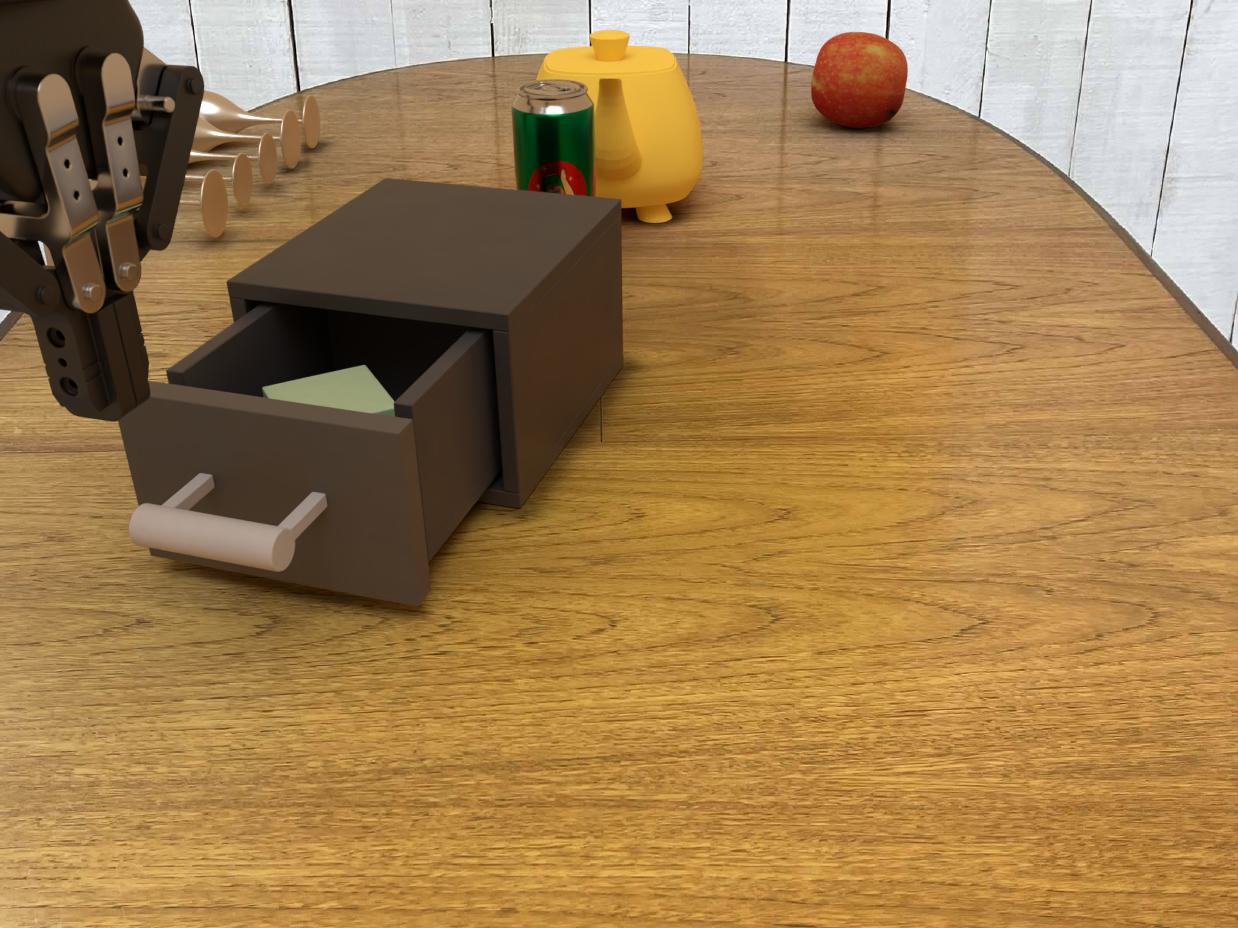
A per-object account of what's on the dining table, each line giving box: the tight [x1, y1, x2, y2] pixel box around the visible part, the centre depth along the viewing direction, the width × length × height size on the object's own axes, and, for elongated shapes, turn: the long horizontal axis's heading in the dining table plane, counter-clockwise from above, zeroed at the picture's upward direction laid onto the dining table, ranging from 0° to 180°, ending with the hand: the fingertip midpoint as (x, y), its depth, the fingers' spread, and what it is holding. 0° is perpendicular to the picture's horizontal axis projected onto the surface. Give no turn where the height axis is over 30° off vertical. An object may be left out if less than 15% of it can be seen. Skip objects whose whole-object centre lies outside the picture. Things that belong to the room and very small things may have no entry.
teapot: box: [535, 29, 704, 224], centre depth 90 cm, size 13×20×12 cm
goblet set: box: [89, 89, 321, 239], centre depth 97 cm, size 28×6×13 cm
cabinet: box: [226, 177, 624, 509], centre depth 63 cm, size 16×14×10 cm
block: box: [262, 365, 395, 417], centre depth 54 cm, size 5×5×5 cm
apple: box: [810, 31, 909, 129], centre depth 109 cm, size 8×8×8 cm
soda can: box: [511, 79, 596, 197], centre depth 79 cm, size 5×5×12 cm
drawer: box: [117, 302, 502, 607], centre depth 53 cm, size 19×12×8 cm, turn 162°
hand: (109, 408), depth 39 cm, fingers closed
